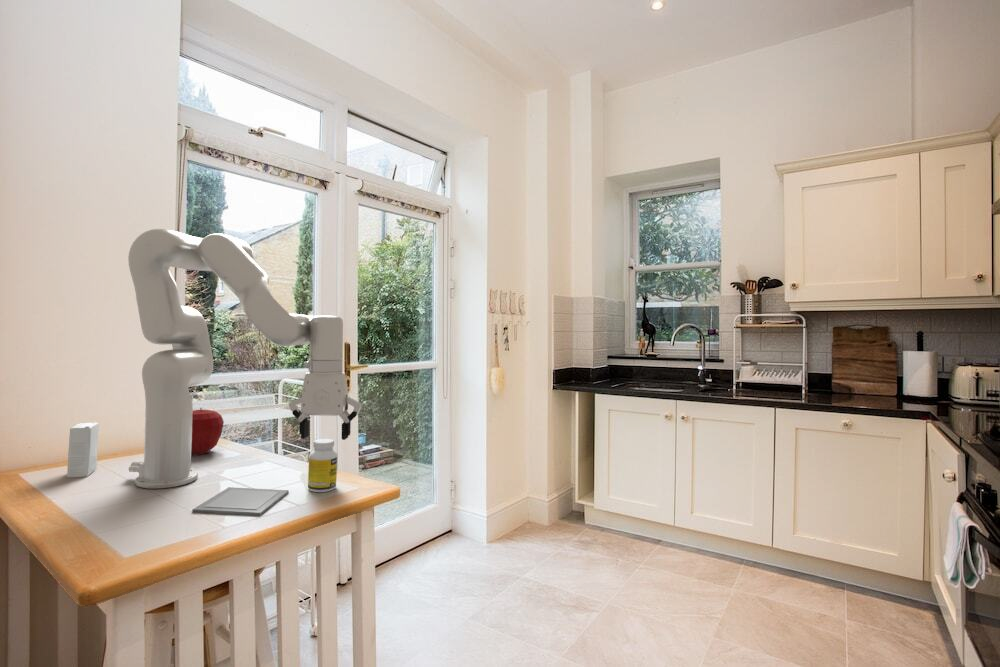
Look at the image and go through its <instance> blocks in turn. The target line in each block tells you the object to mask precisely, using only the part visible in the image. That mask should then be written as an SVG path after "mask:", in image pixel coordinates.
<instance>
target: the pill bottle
mask: <svg viewBox="0 0 1000 667" xmlns="http://www.w3.org/2000/svg"><path fill="white" fill-rule="evenodd" d="M334 446H335V439H331V438H320V439H319V438H318V439H314V440H313V448H314V450H312V451H311V452H310V453H309V455H308V476H307V478H308V480H307V489H308V490H309V491H311V492H314V493H327V492H330V491H333V490H334V489H336V487H337V476H338V475H337V474H338V472H337V471H338V452H337V451H336V450H335V449H333V448H334Z"/></svg>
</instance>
